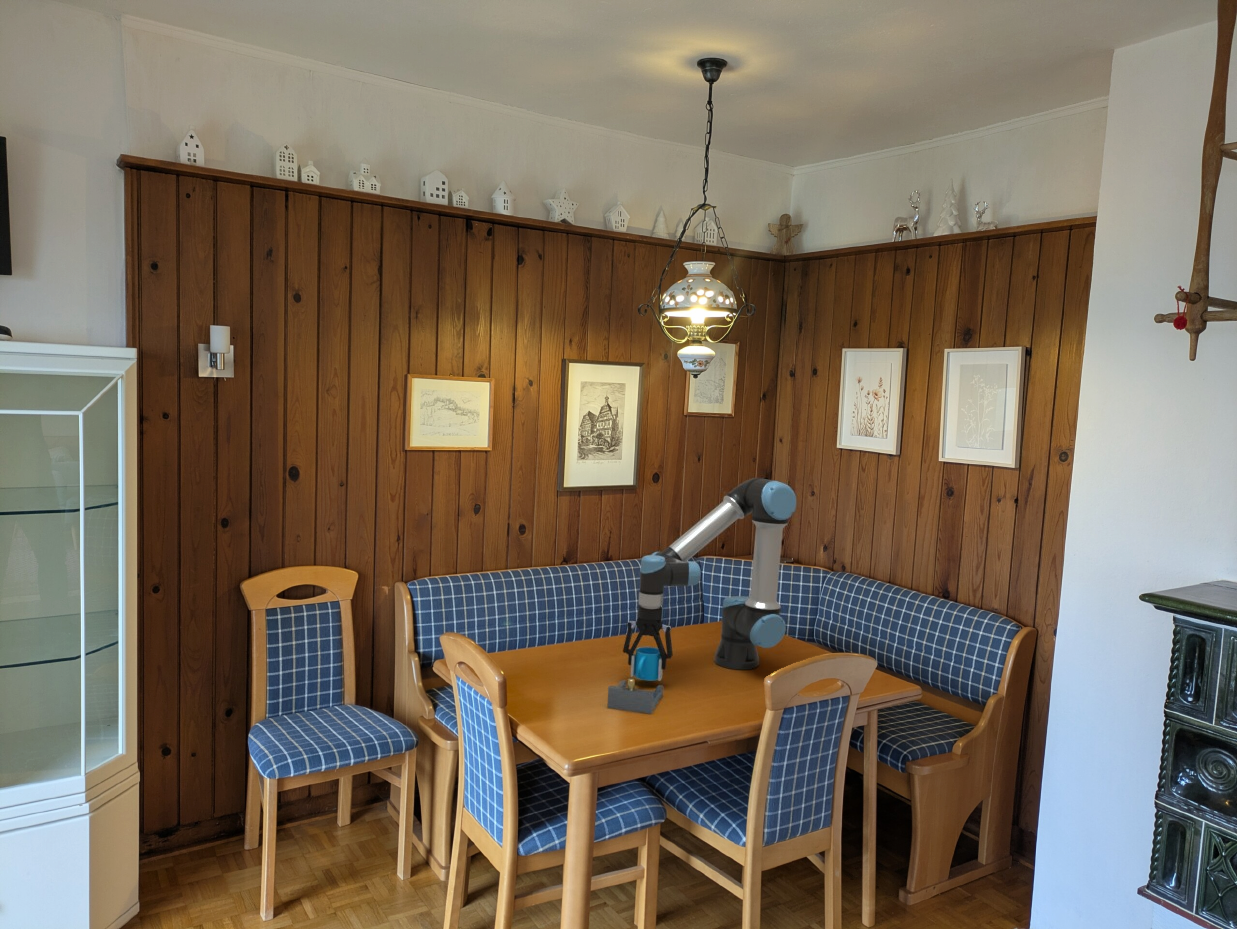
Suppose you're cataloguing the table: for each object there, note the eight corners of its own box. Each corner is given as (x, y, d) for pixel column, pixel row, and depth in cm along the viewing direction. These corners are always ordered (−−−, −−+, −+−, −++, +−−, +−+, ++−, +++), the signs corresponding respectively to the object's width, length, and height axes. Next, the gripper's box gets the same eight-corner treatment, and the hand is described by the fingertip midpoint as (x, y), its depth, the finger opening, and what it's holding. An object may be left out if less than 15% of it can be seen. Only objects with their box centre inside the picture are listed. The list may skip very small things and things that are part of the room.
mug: (640, 670, 280) (641, 645, 280) (664, 675, 277) (665, 649, 276) (625, 681, 269) (627, 655, 269) (650, 686, 266) (652, 659, 265)
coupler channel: (662, 695, 266) (664, 666, 265) (651, 714, 250) (652, 683, 249) (621, 689, 269) (622, 661, 268) (607, 707, 253) (608, 677, 252)
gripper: (685, 606, 272) (681, 678, 274) (620, 599, 277) (617, 669, 279) (681, 612, 265) (677, 685, 267) (614, 604, 270) (610, 676, 272)
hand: (646, 677), depth 273 cm, fingers closed on mug, 8 cm apart
